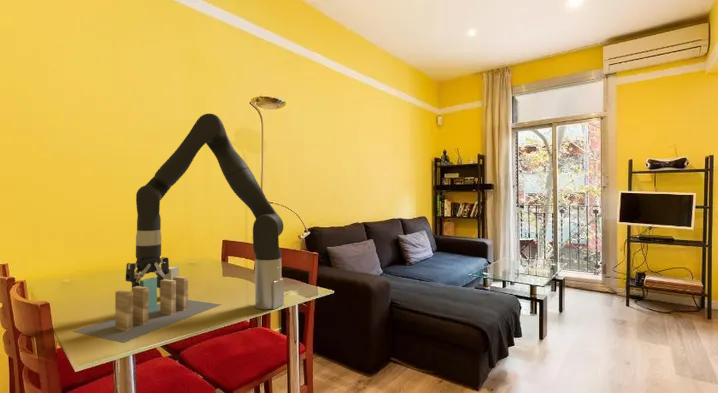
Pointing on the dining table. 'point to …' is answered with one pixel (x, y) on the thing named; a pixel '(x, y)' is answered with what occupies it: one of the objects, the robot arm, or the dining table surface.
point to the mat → (154, 323)
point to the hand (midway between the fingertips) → (148, 290)
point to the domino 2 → (151, 292)
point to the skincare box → (171, 273)
